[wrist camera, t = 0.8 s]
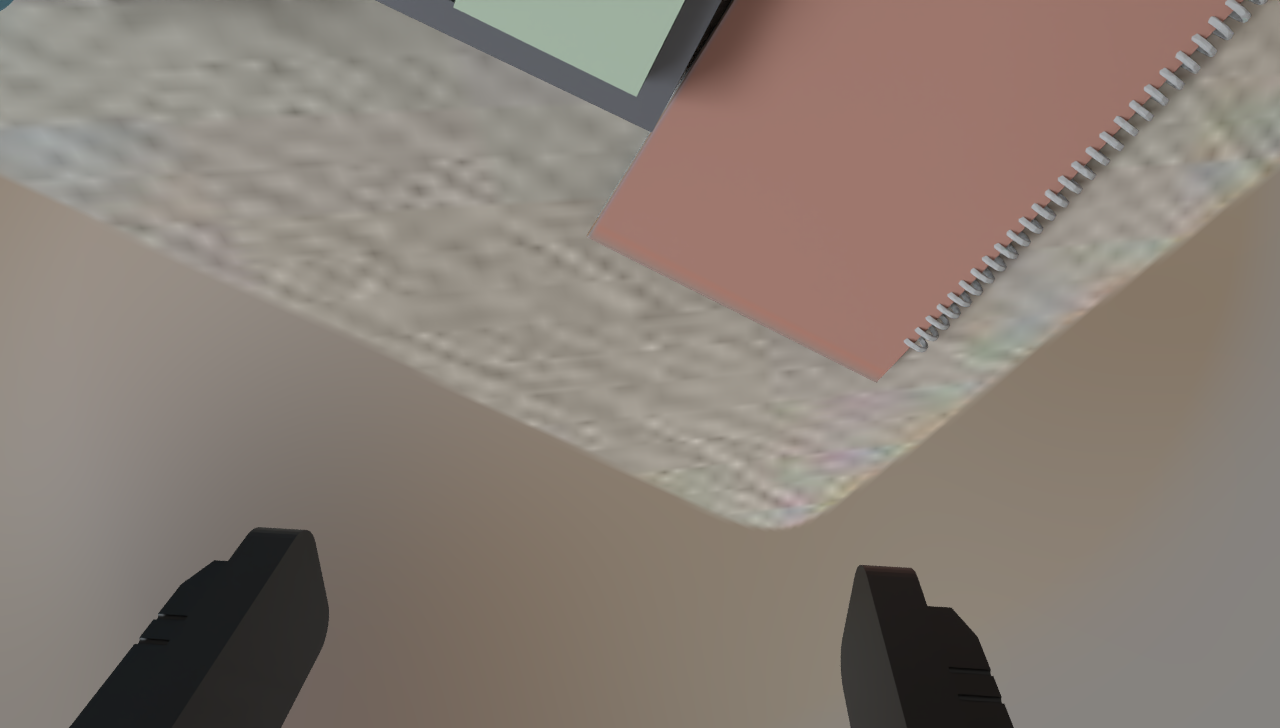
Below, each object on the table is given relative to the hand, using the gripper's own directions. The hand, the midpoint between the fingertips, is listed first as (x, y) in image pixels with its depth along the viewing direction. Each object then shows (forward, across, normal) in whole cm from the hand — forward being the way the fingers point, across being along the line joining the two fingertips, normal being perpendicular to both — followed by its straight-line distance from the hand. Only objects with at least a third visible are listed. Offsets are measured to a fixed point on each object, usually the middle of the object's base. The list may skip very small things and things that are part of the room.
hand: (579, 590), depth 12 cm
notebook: (+25, -11, -5) cm, 28 cm away
